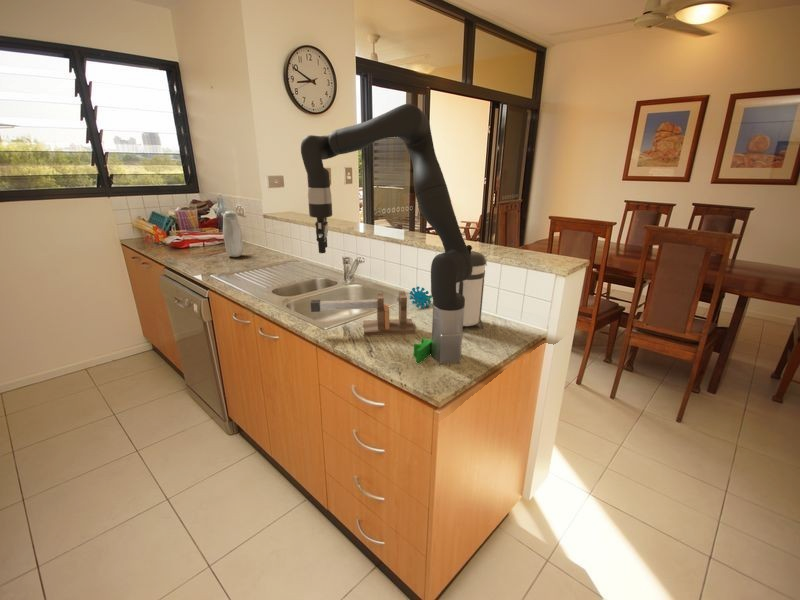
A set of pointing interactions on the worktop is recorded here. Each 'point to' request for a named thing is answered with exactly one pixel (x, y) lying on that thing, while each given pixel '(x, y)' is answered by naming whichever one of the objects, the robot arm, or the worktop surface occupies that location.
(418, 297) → the teal spiky round piece
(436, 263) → the robot arm
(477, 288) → the coffee press
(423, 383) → the worktop surface
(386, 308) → the spacer
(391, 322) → the stand
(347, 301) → the shaft
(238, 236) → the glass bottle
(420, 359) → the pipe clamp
